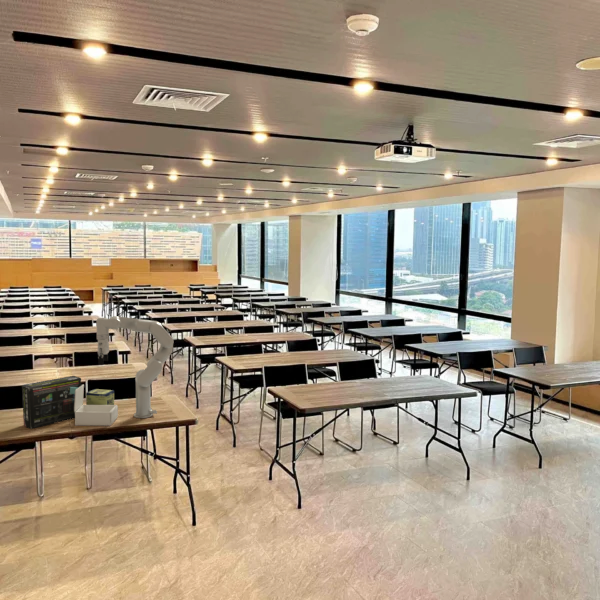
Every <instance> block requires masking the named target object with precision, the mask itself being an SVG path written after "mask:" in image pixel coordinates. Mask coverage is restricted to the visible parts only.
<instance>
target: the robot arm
mask: <svg viewBox="0 0 600 600" xmlns="http://www.w3.org/2000/svg"><path fill="white" fill-rule="evenodd" d="M119 328H120V329H126V330H131V331H133V332H137V333H143V334H144V333H146V334H151V335H152V336H153V337H154V339H156V341H157V342H158V343H159V344H160V346H159V349H158V350H157V351H156V353H154V355H153V356H152V357H151V358H150V359H149V360H148V361H147V364H146V367H145V369H139V370H138V371H137V372H136V373H135V379H134V380H135V413H134V414H133V417H134V418H136V419H148V418H150V417H151V418H152V417H153V416H154V414H156V415H157V413H158V411H157V410H156V409H152V406H151V403H152V402H151V398H152V397H151V384H152V383H153V382H154V381H155V380H156V379H157V377H158V376H159V375H161V373H162V371H163V368H164V367H163V365H164V364H165V362H166V361H167V360H168V358H170V356H171V354H172V352H173V349H174V348H173V347H174V344H175V343H174V341H175V340H174V338H173V337H172V336H171V335H170V334H169V332H168V331H167V330H166V329H165V328H164V327H163V325H162V324H161V323H160V322H159V321H157V320H149V319H141V318H140V319H139V318H132V317H127V316H126V317H125V316H117V315H116V316H115V315H114V316H111V317H110V318H107V317H98V318H97V319H96V340H97V363H98V364H97V365H104V362H108V361H109V352H110V343H109V340H110V330H118V329H119Z"/></svg>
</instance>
